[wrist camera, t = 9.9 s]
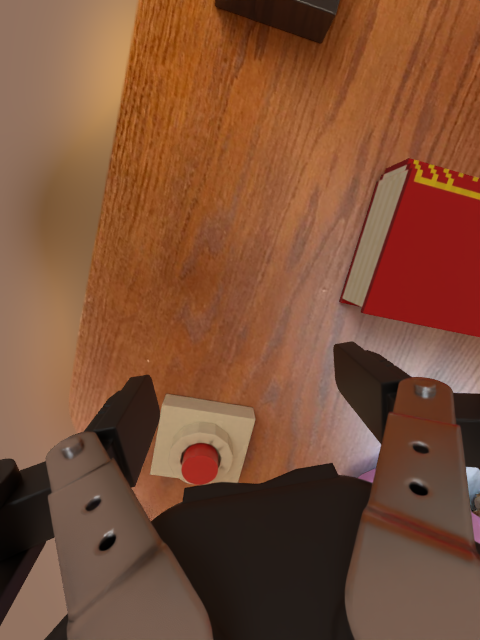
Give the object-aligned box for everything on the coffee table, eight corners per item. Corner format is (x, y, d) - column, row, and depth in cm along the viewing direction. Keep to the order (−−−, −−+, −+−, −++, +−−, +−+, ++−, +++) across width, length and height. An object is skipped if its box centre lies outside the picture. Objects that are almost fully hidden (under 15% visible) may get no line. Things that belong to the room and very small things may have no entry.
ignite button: (180, 468, 29) (178, 482, 27) (186, 440, 28) (184, 453, 26) (214, 473, 29) (214, 487, 27) (221, 445, 28) (221, 457, 27)
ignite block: (154, 459, 32) (145, 488, 29) (166, 393, 30) (158, 415, 26) (236, 470, 34) (238, 499, 30) (253, 407, 31) (257, 430, 28)
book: (542, 216, 28) (609, 210, 23) (487, 332, 31) (536, 349, 26) (380, 171, 26) (417, 154, 21) (339, 301, 29) (363, 313, 24)
